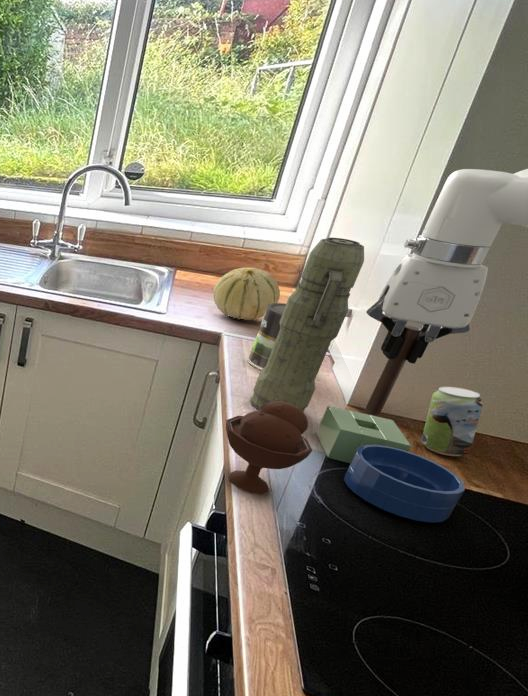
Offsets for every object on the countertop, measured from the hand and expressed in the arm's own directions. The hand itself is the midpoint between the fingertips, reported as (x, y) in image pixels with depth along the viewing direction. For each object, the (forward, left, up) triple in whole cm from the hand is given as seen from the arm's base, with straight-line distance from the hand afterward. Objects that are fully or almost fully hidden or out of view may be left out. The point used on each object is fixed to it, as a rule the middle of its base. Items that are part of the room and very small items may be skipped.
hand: (398, 357), depth 97 cm
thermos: (+10, -12, -19) cm, 25 cm away
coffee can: (+7, -35, -19) cm, 41 cm away
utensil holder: (0, 0, -19) cm, 19 cm away
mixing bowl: (-2, +13, -19) cm, 23 cm away
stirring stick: (0, 0, -11) cm, 11 cm away
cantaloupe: (+11, -68, -19) cm, 72 cm away
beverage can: (-14, -10, -19) cm, 26 cm away
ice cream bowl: (+18, +21, -19) cm, 34 cm away
